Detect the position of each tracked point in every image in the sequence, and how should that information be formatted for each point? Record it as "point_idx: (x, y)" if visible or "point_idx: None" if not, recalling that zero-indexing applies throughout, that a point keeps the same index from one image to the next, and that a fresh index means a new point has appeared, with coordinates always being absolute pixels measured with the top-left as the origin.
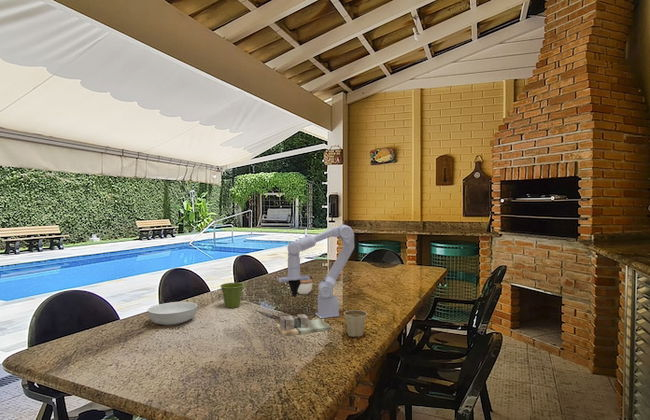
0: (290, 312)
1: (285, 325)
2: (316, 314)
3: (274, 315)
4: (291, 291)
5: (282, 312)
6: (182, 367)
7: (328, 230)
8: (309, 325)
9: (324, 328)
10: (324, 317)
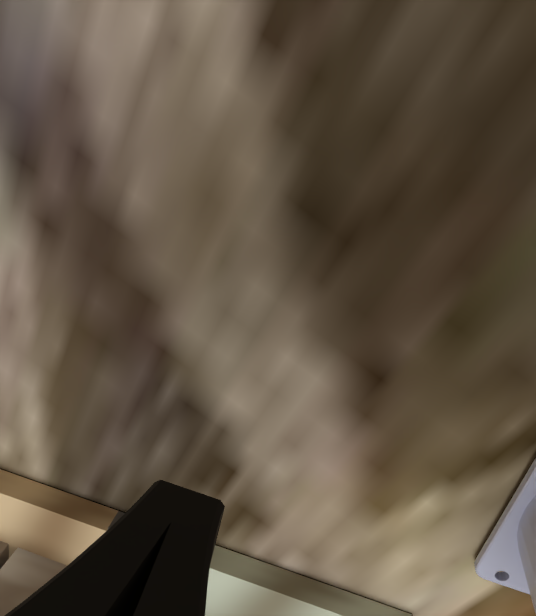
0: (335, 111)
1: None
2: (531, 474)
3: (74, 109)
4: (77, 562)
5: (229, 27)
6: None
7: None
8: None
9: None
10: (520, 588)
